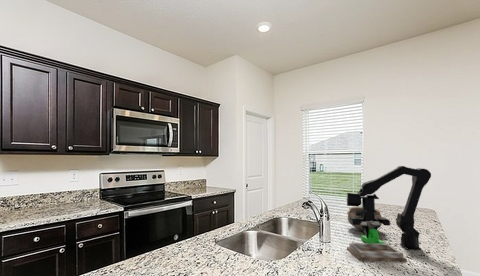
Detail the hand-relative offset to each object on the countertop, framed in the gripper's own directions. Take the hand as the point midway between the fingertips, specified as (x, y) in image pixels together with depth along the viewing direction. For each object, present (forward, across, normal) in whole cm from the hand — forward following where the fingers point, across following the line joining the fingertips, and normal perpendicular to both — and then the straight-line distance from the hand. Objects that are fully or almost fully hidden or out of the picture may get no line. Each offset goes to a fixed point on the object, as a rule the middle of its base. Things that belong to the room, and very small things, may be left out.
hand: (369, 238), depth 127 cm
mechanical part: (+3, -2, 0) cm, 3 cm away
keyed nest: (+3, +5, +15) cm, 16 cm away
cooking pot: (+3, -8, -23) cm, 25 cm away
